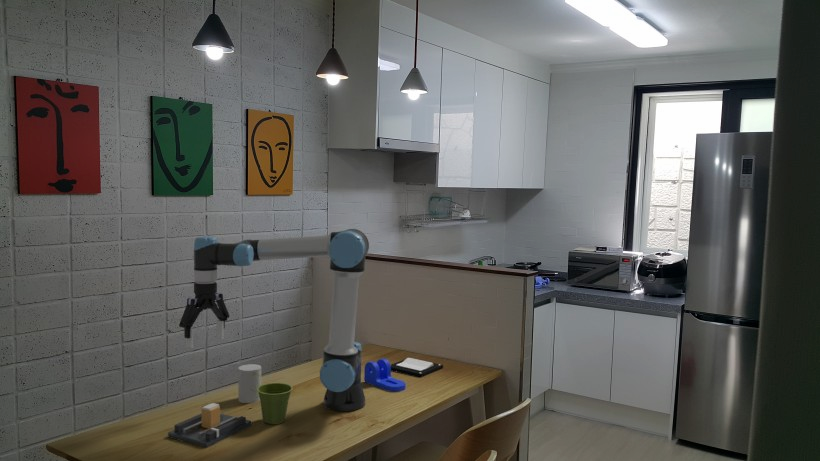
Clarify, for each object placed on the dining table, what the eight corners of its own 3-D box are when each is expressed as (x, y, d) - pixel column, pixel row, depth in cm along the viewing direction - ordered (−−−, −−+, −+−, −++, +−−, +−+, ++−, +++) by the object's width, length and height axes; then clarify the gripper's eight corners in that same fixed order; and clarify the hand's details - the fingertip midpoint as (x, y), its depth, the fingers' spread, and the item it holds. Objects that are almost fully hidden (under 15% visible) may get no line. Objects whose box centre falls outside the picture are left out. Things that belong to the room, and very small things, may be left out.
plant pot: (274, 430, 199) (275, 396, 198) (248, 422, 205) (249, 389, 205) (299, 419, 209) (300, 386, 208) (274, 411, 215) (274, 380, 215)
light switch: (443, 361, 273) (421, 370, 258) (443, 369, 273) (420, 378, 258) (409, 354, 283) (386, 362, 268) (409, 361, 283) (385, 370, 269)
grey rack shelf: (246, 422, 201) (246, 416, 201) (210, 440, 187) (210, 433, 186) (210, 414, 208) (210, 407, 208) (173, 430, 193) (173, 423, 193)
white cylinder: (255, 404, 222) (255, 371, 222) (234, 401, 224) (234, 369, 223) (264, 396, 230) (265, 365, 230) (244, 394, 232) (244, 363, 231)
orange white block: (220, 424, 198) (220, 404, 198) (210, 429, 194) (210, 409, 194) (211, 422, 200) (211, 402, 200) (201, 426, 196) (201, 406, 196)
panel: (251, 425, 203) (251, 417, 203) (206, 447, 185) (206, 439, 185) (214, 416, 210) (214, 408, 210) (168, 437, 192) (168, 428, 192)
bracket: (364, 382, 251) (364, 360, 250) (379, 378, 257) (379, 356, 256) (394, 393, 238) (395, 370, 237) (409, 388, 244) (410, 366, 243)
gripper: (224, 276, 223) (224, 334, 224) (167, 285, 201) (167, 349, 202) (240, 278, 219) (239, 337, 221) (183, 287, 197) (183, 352, 199)
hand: (205, 343), depth 211 cm, fingers open, 13 cm apart
